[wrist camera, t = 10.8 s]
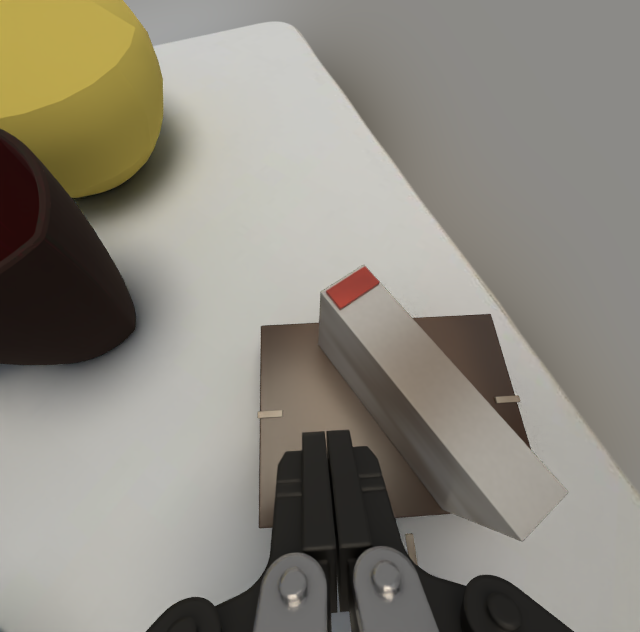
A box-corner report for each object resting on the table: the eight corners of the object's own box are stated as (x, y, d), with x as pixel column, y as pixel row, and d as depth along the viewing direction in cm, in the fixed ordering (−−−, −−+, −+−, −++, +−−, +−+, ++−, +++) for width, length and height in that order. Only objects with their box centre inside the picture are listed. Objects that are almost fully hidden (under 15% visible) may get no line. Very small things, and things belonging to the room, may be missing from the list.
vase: (132, 75, 37) (-33, -273, 19) (226, 165, 32) (117, -201, 14) (-39, 149, 32) (-473, -231, 14) (40, 271, 26) (-498, -94, 9)
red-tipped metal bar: (475, 479, 17) (575, 493, 11) (442, 510, 17) (527, 544, 10) (348, 323, 21) (364, 260, 14) (318, 344, 20) (320, 288, 14)
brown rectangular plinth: (459, 309, 26) (485, 284, 22) (518, 537, 20) (567, 555, 16) (267, 319, 25) (259, 294, 21) (266, 557, 19) (255, 582, 15)
